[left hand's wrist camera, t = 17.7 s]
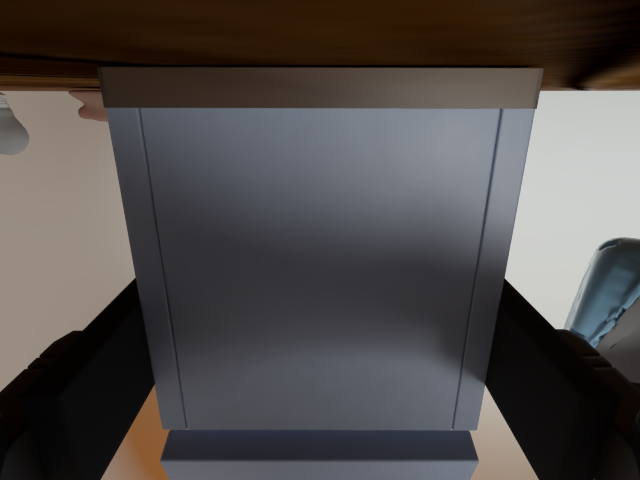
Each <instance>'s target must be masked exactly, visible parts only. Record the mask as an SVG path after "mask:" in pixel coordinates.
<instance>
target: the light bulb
mask: <svg viewBox="0 0 640 480" xmlns="http://www.w3.org/2000/svg"><path fill="white" fill-rule="evenodd" d="M5 97H6V95H5V94H2V93H0V153H1V154H6V155H14V154H18V153H20V152H22V151H23V150H24V149H25V148H26V147H27V145H28V143H29V135H28V132H27V131H26V129H25V128H24V127H23V126H22V124H21V123H20V122H19V121H18V120H17V119H16V118H15V116H14V114H13V112H12V110H11V109H10V108H9V105H8V104H7V102H6V99H5Z"/></svg>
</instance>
